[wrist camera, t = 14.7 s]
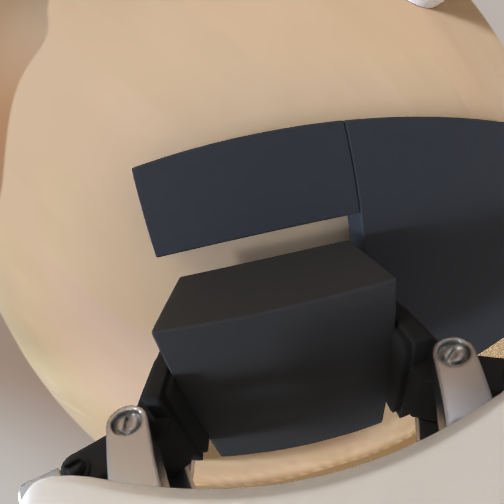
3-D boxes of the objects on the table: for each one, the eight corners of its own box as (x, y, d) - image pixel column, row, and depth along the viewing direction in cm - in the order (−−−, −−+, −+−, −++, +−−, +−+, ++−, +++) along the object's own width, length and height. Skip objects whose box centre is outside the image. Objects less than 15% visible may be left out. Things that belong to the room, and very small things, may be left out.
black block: (179, 276, 9) (149, 332, 6) (347, 239, 9) (397, 277, 6) (224, 394, 11) (220, 457, 8) (354, 366, 11) (382, 422, 8)
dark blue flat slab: (145, 167, 10) (130, 168, 8) (507, 125, 9) (523, 125, 8) (233, 416, 14) (232, 435, 13) (498, 324, 13) (509, 333, 12)
